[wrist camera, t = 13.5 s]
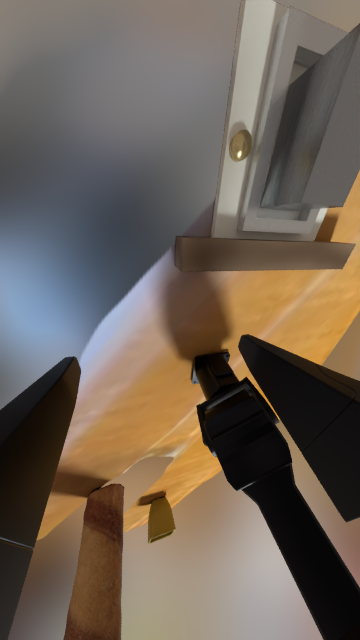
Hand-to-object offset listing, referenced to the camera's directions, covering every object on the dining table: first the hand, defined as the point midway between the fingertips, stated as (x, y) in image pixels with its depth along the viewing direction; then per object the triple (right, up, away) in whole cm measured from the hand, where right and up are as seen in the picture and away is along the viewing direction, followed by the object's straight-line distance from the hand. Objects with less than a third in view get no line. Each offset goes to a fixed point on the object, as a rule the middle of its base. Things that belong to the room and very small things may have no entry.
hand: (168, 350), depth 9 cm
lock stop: (+11, +17, +7) cm, 22 cm away
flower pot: (-8, -69, +54) cm, 88 cm away
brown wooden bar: (+11, +10, +11) cm, 19 cm away
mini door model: (+11, +18, +7) cm, 22 cm away
